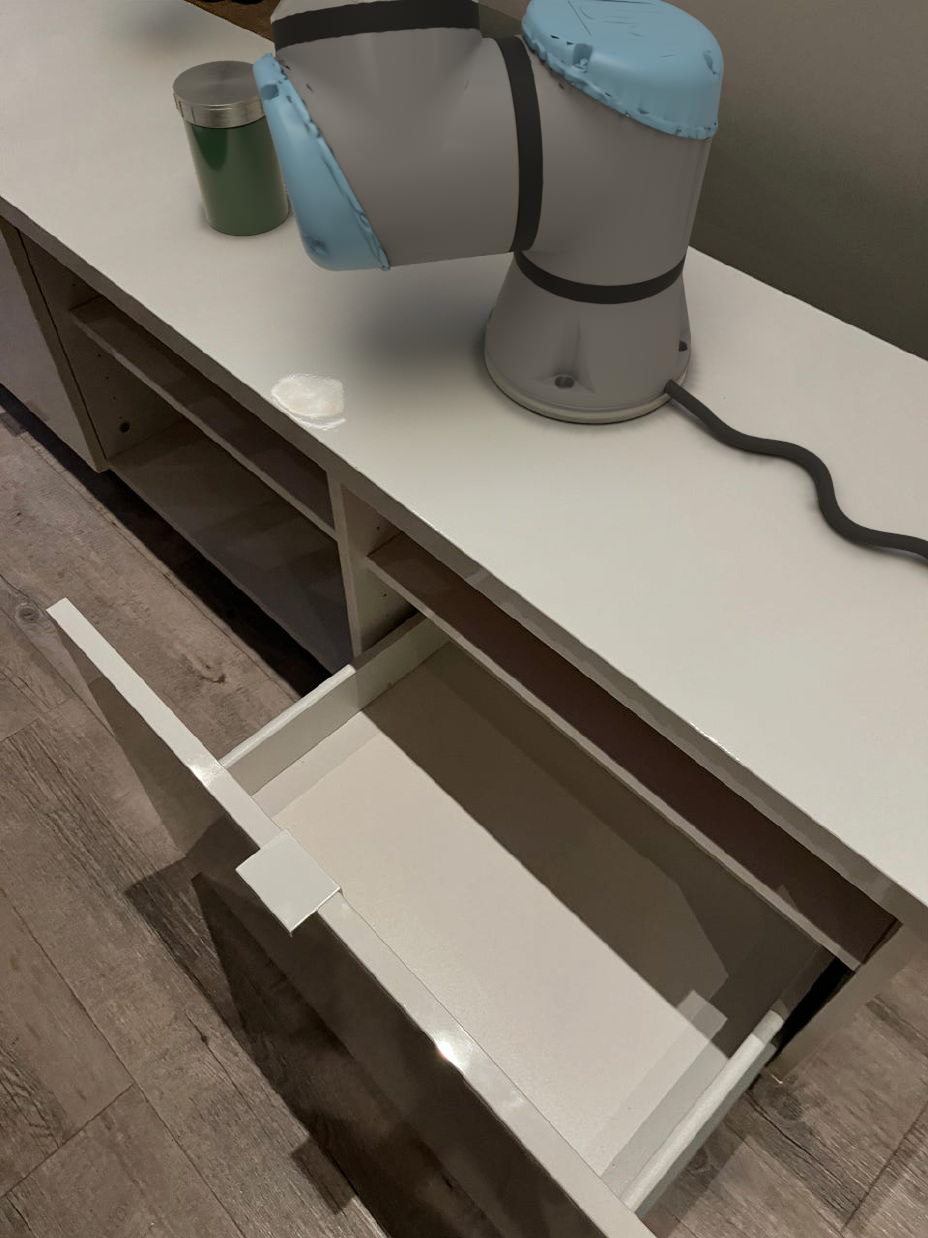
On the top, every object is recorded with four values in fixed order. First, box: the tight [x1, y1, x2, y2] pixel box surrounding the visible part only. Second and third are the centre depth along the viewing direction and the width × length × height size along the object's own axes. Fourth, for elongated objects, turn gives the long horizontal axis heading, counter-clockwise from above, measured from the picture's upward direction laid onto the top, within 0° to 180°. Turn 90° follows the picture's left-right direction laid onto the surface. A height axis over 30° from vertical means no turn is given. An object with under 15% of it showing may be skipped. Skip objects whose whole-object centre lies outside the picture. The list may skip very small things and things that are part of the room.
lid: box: [172, 60, 265, 128], centre depth 73 cm, size 8×8×2 cm
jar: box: [182, 115, 290, 237], centre depth 77 cm, size 7×7×10 cm
